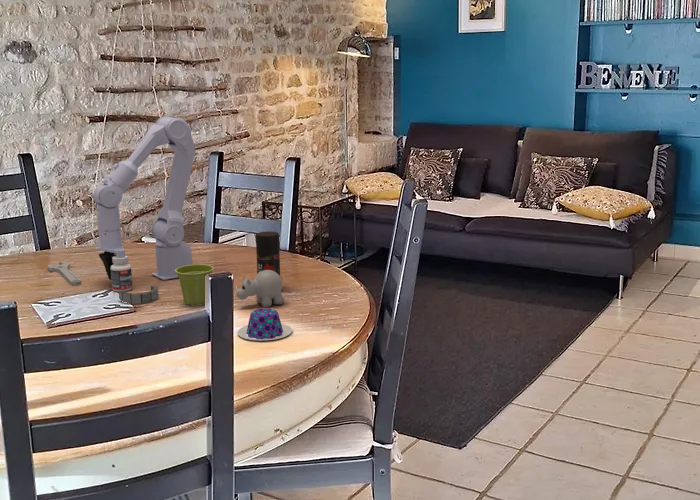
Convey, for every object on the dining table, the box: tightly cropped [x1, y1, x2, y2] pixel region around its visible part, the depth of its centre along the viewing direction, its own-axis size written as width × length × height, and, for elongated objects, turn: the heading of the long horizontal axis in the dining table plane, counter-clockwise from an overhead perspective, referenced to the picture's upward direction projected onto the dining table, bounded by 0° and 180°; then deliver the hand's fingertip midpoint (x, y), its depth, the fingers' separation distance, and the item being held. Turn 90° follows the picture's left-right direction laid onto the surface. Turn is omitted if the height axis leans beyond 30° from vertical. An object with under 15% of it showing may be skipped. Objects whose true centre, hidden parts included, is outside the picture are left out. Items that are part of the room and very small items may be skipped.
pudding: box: [237, 307, 293, 342], centre depth 174 cm, size 12×12×5 cm
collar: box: [117, 284, 160, 305], centre depth 200 cm, size 10×6×2 cm, turn 127°
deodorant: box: [255, 230, 281, 277], centre depth 206 cm, size 6×6×15 cm
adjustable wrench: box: [47, 261, 82, 287], centre depth 224 cm, size 25×6×2 cm, turn 27°
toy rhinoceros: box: [234, 270, 285, 308], centre depth 194 cm, size 7×12×8 cm, turn 116°
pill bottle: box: [110, 254, 133, 293], centre depth 209 cm, size 5×5×9 cm
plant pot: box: [175, 263, 215, 306], centre depth 197 cm, size 9×9×9 cm
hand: (113, 278), depth 214 cm, fingers closed
